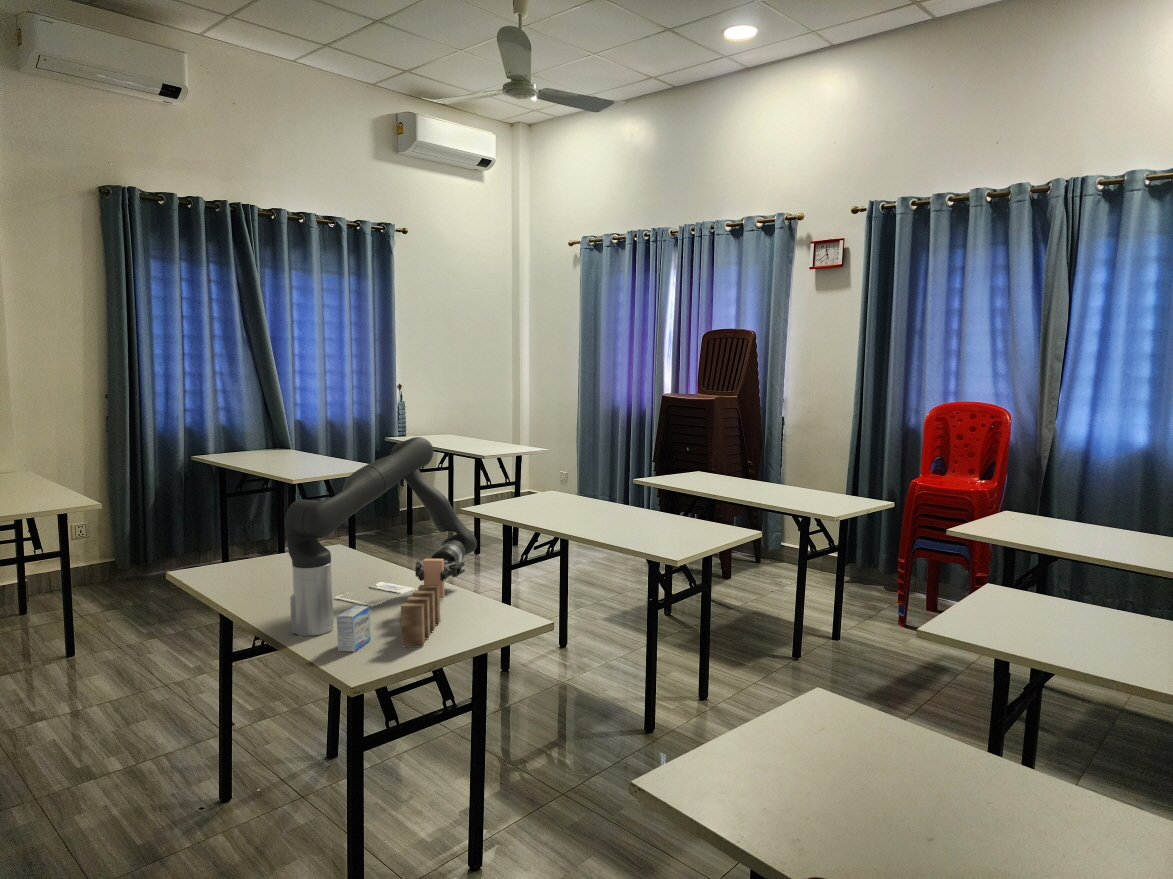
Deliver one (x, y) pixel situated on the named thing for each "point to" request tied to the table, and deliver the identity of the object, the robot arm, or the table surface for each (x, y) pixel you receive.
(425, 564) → the tile
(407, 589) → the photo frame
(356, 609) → the medicine box
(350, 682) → the table surface
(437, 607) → the tile
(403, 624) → the tile
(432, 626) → the tile
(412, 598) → the tile
